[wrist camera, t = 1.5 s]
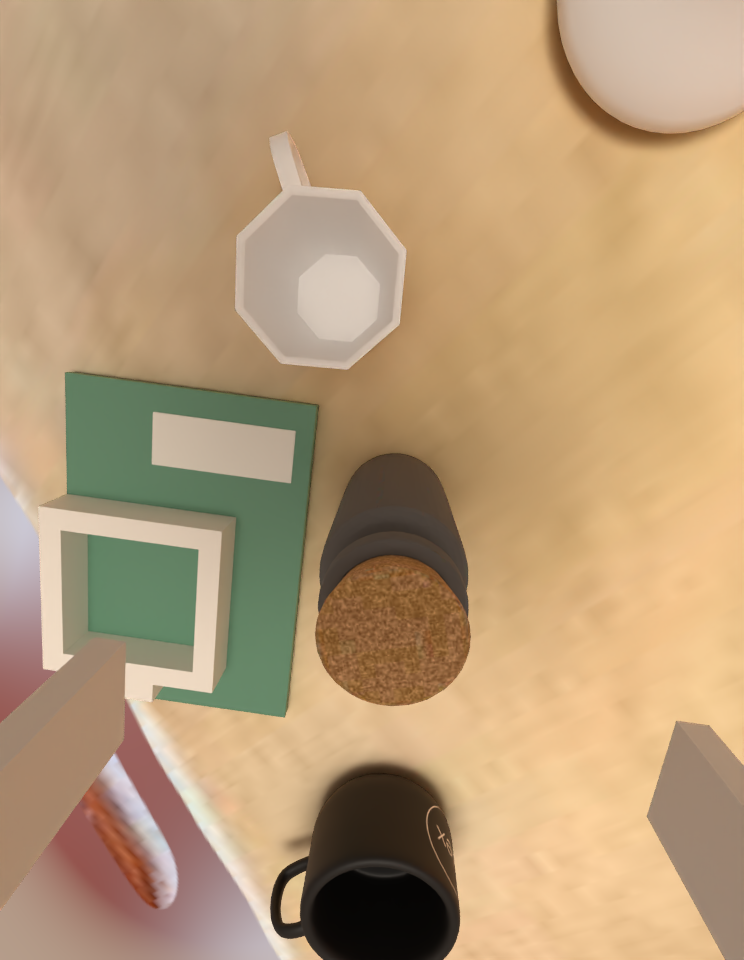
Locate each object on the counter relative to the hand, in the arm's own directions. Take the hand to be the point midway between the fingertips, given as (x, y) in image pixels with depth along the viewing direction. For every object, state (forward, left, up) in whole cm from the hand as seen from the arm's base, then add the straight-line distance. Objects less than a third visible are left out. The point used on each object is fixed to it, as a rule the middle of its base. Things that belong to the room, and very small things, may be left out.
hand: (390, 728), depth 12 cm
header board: (+5, -12, -18) cm, 22 cm away
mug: (+23, +1, -19) cm, 29 cm away
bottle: (0, 0, -19) cm, 19 cm away
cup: (-12, -5, -19) cm, 23 cm away
